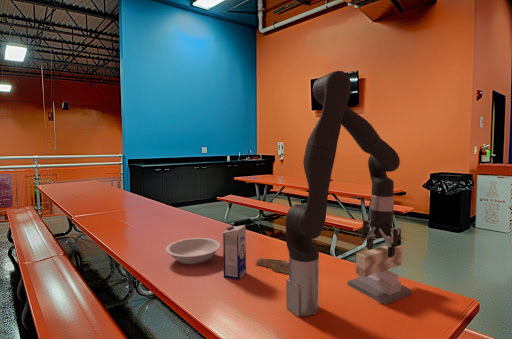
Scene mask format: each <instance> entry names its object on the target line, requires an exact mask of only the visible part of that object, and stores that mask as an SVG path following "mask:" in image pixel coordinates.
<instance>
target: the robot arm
mask: <svg viewBox="0 0 512 339" xmlns="http://www.w3.org/2000/svg"><path fill="white" fill-rule="evenodd" d="M351 81H352V80H351V79H350V76H349V74H348V73H347V72H345V71H343V70H335V71H332V72H330V73H328V74H325V75H322V76H320V77H319V78H317V79H316V80H315V81H314V82H313V86H312V93H313V94H312V95H313V97H314V99H315V101H317V103H319V105H321V107H322V111H321V114H320V116H319V119H318V121H317V123H316V124H315V125H314V127H313V129H312V131H311V133H310V135H309V137H308V138H307V142H306V146H305V151H304V156H303V170H304V174H305V177H306V178H305V179H306V182H307V186H308V192H307V193H308V196H307V201H306V205H304V204H301V203H300V204H299V203H298V204H293V205H292V206H291V207H290V208H289V209H288V211H287V213H286V215H285V216H286V217H285V239H286V240H285V241H286V242H285V243H286V247H287V250H288V263H289V275H288V279H286V289H285V291H286V292H285V293H286V295H285V296H286V299H285V300H286V303H285V304H286V306H285V308H286V309H287V310H289V311H290V312H291V313H292V314H294V315H295V316H296V317H298V318H299V317H310V316H314V315H317V313H318V312H319V280H320V279H319V274H320V269H319V267H320V266H319V265H320V264H319V263H320V260H319V259H320V256H319V255H320V250H319V248H318V246H317V245H316V244H315V242H314V241H313V240H316V239H317V238H318V237H320V235H321V234H322V233H323V230H324V228H325V225H326V219H327V210H328V209H327V207H328V199H329V191H330V190H329V189H330V186H331V177H332V173H333V168H334V165H335V164H334V163H335V159H336V154H337V148H338V141H339V138H340V132H341V128H342V127H343V128H344V129H345V130H346V132H348V133H349V135H350V136H351V137H352V138H353V140H354V142H355V143H356V144H357V145H358V147H359V148H360V149H361V150H362V151H363V152H364V153H366V154H368V155H369V157H368V160H367V166H368V171H369V177H370V180H371V198H370V202H369V203H370V207H369V208H370V209H369V210H370V211H369V219H365V220H363V222H362V229H361V230H362V232H361V235H362V237H365V239H366V248H367V249H366V250H367V251H368V250H372V249H374V237H375V236H376V237H379V238H381V239H383V241H385V242H386V244H387V245H388V246H389V247H388V257H389V258H391V257H393V256H394V255H395V247H397V246H402V230H401V228H399V227H398V228H395V227H393V222H394V211H395V210H394V209H395V201H394V193H395V192H394V191H395V190H394V189H395V182H394V180H393V179H391V178H390V177H388V175H387V173H390V172H395V171H396V170H397V169H398V168H399V166H400V164H401V160H400V156H399V154H398V152H397V151H396V150H395V149H394V148H393V147H391V145H390V144H388V143H387V142H386V141H385V140H383V139H382V138H381V136H380V135H379V133H378V132H377V131H376V129H375V128H374V126H373V125H372V124H371V123H370V122H369V121H367V119H365V118H364V117H363V116H361V115H360V114H359V113H357V112H355V111H354V110H353V109H352V108H351V107H350V106H349V105H348V102H349V99H350V96H351V91H352V82H351Z"/></svg>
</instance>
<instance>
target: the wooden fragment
mask: <svg viewBox="0 0 512 339" xmlns="http://www.w3.org/2000/svg"><path fill="white" fill-rule="evenodd" d="M255 265H256V266H261V267H265V268H269V269H270V270H272V271H273V272H277V273H281V274H284V275H288V276H289V261H286V260H282V259H272V258H271V259H270V258H264V257H263V258H262V257H258V259H257V260H256V262H255Z"/></svg>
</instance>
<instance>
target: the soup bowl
mask: <svg viewBox="0 0 512 339" xmlns="http://www.w3.org/2000/svg"><path fill="white" fill-rule="evenodd" d="M221 247H222V244H221V243H220V241H218V240H216V239H213V238H209V237H208V238H207V237H190V238H189V237H188V238H183V239H180V240H176V241H174V242H171V243H170V244H168V245H167V246H166V247H165V252H166V253H167V254H168V255H170V256H171V258H172V259H173V260H175V261H176V262H178V263H181V264H184V265H185V264H186V265H196V264H201V263H204V262H207V261H208V260H210V259H211V258H213V257H214V255H215V254H216V252H218V251H220V249H221Z"/></svg>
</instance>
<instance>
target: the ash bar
mask: <svg viewBox="0 0 512 339" xmlns="http://www.w3.org/2000/svg"><path fill="white" fill-rule="evenodd" d="M388 247H389V246H388V244H387V245H384V246H383V245H382V246H379V247H375V248H373V249H371V250H368V249H367V250H364V251H362V252H358V253H356V257H355V258H356V259H355V260H356V261H355V266H356V267H355V274H356V275H358V276H359V275H361V276H363V277H367V276H370V275H373V274H376V273H379V272H382V271H385V270H388V271H389V270H390V269H393V268H396V267H399V266H402V265H403V250H404V249H403V245H401V246H397V247H395V255H394V256H393V257H391V258H389V257H388Z"/></svg>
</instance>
